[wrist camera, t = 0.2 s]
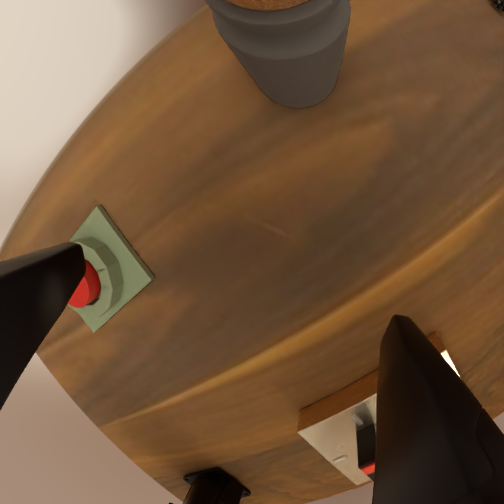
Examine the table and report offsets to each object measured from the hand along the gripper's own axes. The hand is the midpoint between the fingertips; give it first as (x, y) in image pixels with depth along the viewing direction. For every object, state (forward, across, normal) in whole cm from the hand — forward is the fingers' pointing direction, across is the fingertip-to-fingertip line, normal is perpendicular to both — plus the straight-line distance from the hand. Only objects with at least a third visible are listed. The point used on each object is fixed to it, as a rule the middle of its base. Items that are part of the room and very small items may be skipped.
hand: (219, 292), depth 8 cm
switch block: (+13, +16, +12) cm, 23 cm away
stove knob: (+8, -12, +20) cm, 24 cm away
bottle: (+18, +1, -6) cm, 19 cm away
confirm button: (+11, +16, +11) cm, 22 cm away
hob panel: (+11, -14, +19) cm, 26 cm away
